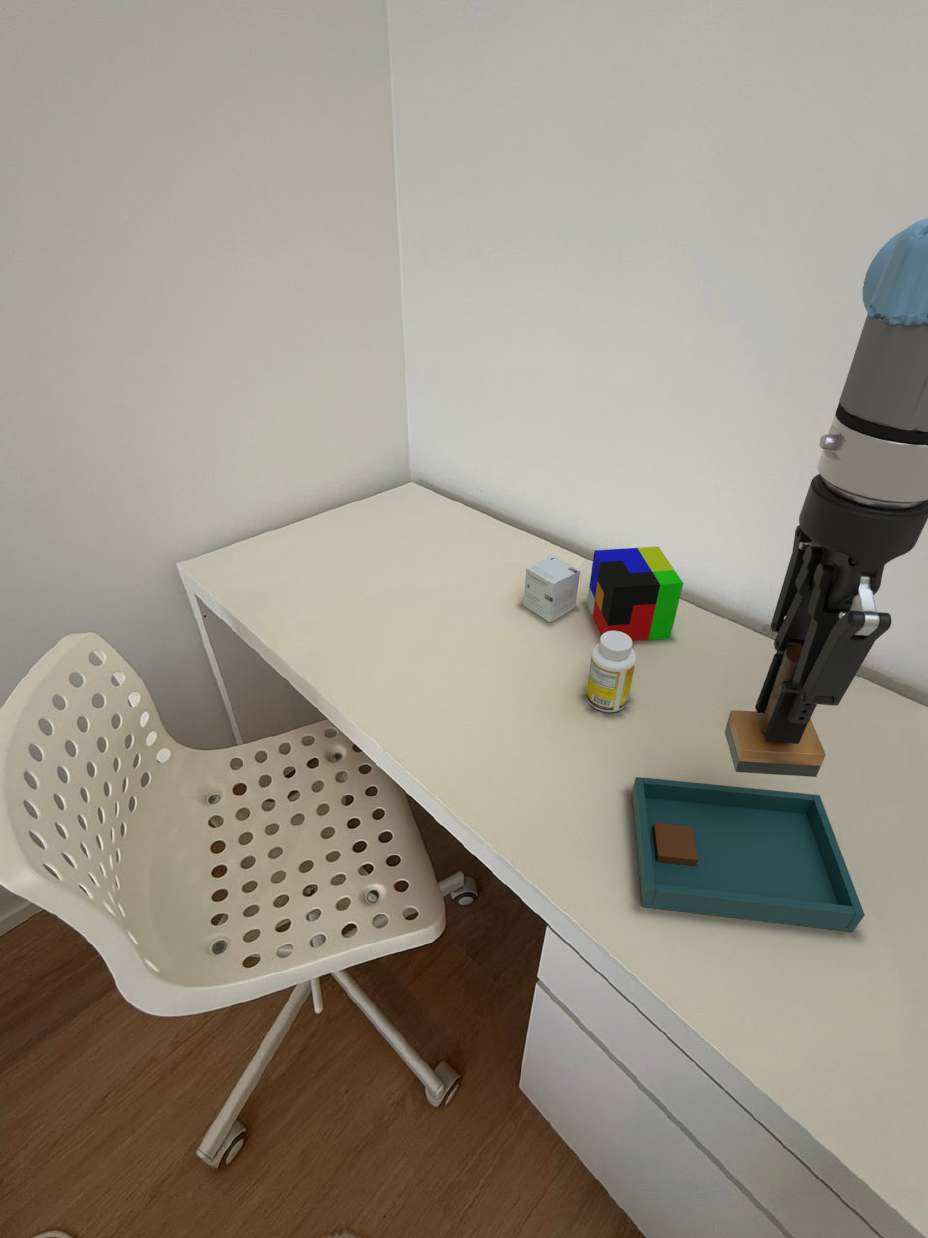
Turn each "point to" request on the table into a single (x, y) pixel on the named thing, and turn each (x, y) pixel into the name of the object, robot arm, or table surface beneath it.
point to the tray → (745, 855)
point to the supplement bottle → (611, 672)
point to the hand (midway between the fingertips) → (776, 724)
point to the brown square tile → (674, 844)
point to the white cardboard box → (551, 588)
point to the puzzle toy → (634, 592)
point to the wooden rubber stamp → (773, 757)
